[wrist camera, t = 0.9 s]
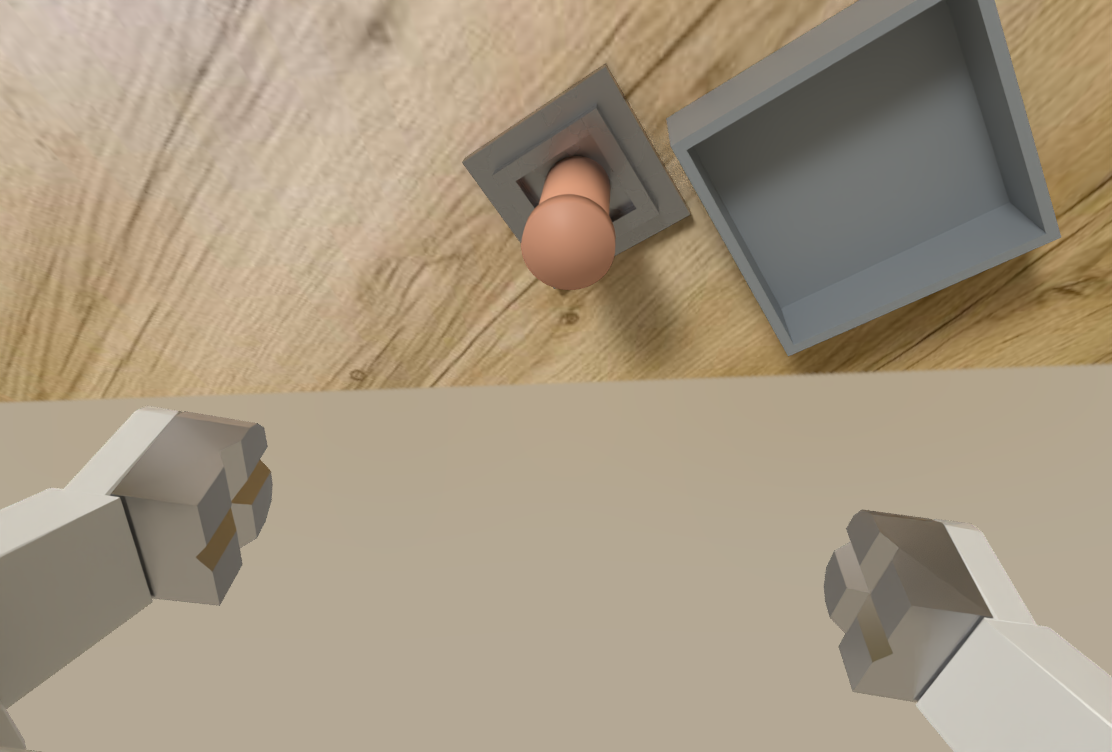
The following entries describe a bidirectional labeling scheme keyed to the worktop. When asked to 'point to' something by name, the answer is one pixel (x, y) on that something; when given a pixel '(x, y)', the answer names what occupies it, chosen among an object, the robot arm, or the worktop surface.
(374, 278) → the worktop surface
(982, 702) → the robot arm
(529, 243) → the butternut squash
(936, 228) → the slate tray
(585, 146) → the socket plate
